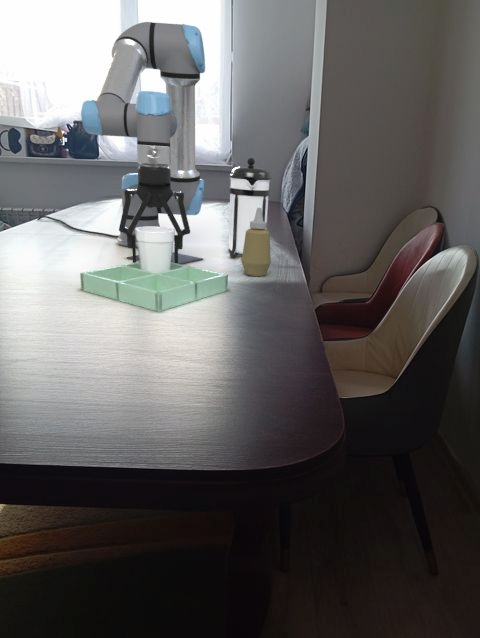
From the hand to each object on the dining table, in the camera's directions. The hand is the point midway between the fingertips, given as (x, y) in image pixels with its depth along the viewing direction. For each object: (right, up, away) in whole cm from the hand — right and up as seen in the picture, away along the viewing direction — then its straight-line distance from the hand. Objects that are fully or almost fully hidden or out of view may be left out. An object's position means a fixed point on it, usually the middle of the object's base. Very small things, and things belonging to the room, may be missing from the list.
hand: (155, 261), depth 127 cm
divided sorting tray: (+1, -8, -6) cm, 10 cm away
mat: (-3, +6, +28) cm, 29 cm away
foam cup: (0, -5, +2) cm, 5 cm away
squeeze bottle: (+24, -1, +17) cm, 30 cm away
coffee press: (+21, +9, +42) cm, 48 cm away
